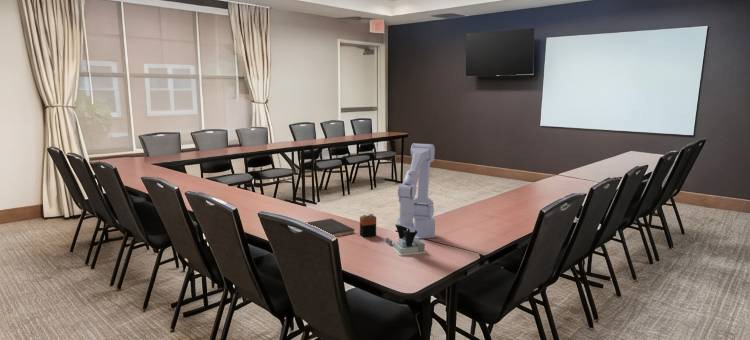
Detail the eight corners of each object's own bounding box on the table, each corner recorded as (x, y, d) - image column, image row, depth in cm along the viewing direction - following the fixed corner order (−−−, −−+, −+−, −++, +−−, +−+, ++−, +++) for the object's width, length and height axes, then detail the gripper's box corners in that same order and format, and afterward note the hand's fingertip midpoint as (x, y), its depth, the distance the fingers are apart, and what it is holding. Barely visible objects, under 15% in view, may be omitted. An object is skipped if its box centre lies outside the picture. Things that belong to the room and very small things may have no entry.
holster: (402, 240, 205) (402, 236, 205) (406, 243, 201) (406, 239, 200) (386, 241, 203) (386, 237, 203) (389, 245, 198) (389, 241, 198)
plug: (407, 248, 194) (407, 235, 193) (410, 251, 190) (411, 238, 189) (398, 248, 193) (399, 236, 192) (402, 252, 189) (402, 239, 188)
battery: (376, 235, 212) (376, 215, 210) (363, 237, 209) (363, 216, 207) (372, 233, 216) (372, 212, 214) (359, 234, 213) (359, 214, 211)
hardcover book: (331, 222, 234) (331, 218, 234) (354, 234, 216) (355, 229, 215) (303, 227, 225) (303, 222, 225) (325, 239, 207) (325, 234, 206)
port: (417, 245, 198) (417, 236, 198) (426, 253, 189) (426, 243, 188) (391, 248, 195) (391, 238, 194) (399, 255, 185) (400, 245, 185)
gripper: (391, 209, 194) (390, 239, 196) (404, 217, 181) (403, 250, 183) (406, 208, 196) (405, 237, 199) (420, 216, 183) (419, 248, 185)
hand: (405, 243), depth 191 cm, fingers open, 7 cm apart
